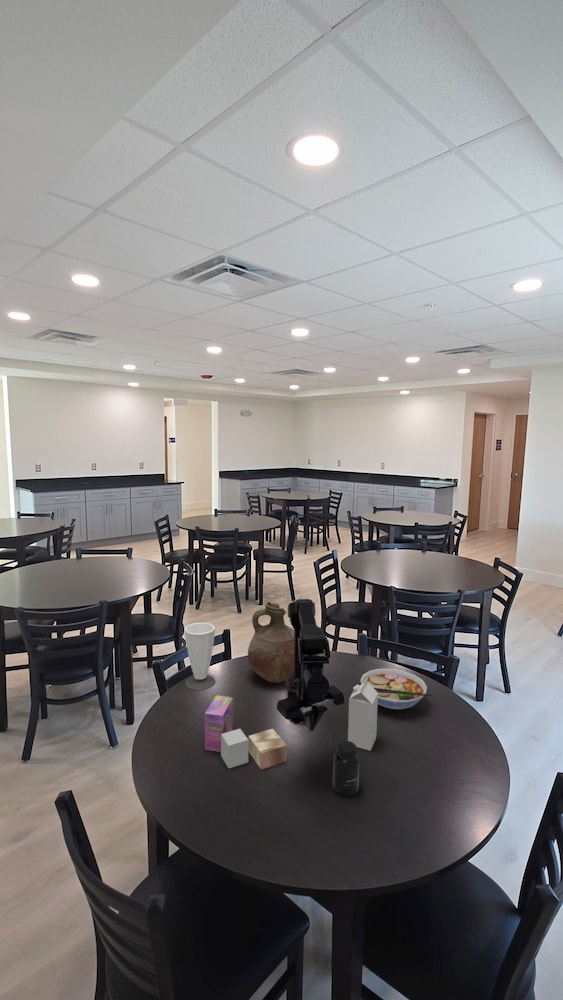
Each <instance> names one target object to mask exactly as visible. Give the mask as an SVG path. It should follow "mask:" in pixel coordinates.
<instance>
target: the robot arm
mask: <svg viewBox="0 0 563 1000" xmlns="http://www.w3.org/2000/svg"><path fill="white" fill-rule="evenodd" d="M315 616H316V603H315V602H313V600H312V599H310V598H299V599H296V600H295V601H293V602H290V603H289V604H287V618H289V622H290V625H291V626H292V627H291V628H292V629H294V672H293V673H292V675H291V676H290V678H288V679H286V681H284V682H285V683H284V684H285V698H282V699H279V700H278V701H277V703H276V711H278V713H280V714H281V716H282V717H283V718H284V719H285V720H290V721H291V722H292V723H293V724H294V725H298V724H301V723H306V726H307V729H308V731H309V732H314V730H315V728H316V727H317V725H318V723H319V721H320V720H321V718H322V717H323V715H324V714H325V712H328V707H326V705H325V703H326V702H329V701H332V703H333V705H335V706H339V705H343V704H345V702H346V700H345V699H346V698H345V694H344V692H343V691H341V690H340V689H339V688H338V687H336V686H335V685H331V686H330V682H329V680H328V677H327V675H326V671H325V668H324V664H325V665H329V664H330V659H331V650H330V649H331V648H330V641H329V639H328V637H327V636H326V635H325V633H324V630H323V628H322V627H320V626H318V625H317V622H316V617H315ZM323 654H324V655H323Z"/></svg>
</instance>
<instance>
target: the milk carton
mask: <svg viewBox="0 0 563 1000" xmlns="http://www.w3.org/2000/svg"><path fill="white" fill-rule="evenodd" d="M367 679H368V678H367ZM367 679H366V680H365V682H364V683H363V684H362V683H361V684H360V685H359V684H357V685H354V686H353V688H352V689H353V691H352V693H351V695H350V697H349V698H348V724H347V726H348V727H347V741H351V742H352V743H354V744H355V745H356V748H358V749H362V750H365V751H369V752H371V751H372V749H373V746H374V744H375V742H376V739H377V725H378V705H379V704H378V692H377V691H376V690H375V689H374V688H373V687H372V686H371V685H370V684H369V683H368V682H367Z"/></svg>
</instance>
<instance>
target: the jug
mask: <svg viewBox="0 0 563 1000" xmlns="http://www.w3.org/2000/svg"><path fill="white" fill-rule="evenodd" d="M264 606H265V608H263V609H261V608H260V609H258V610H256V611H255V612H254V613H253V615H252V618H251V619H252V620H251V623H252V627H253V629H254V634H253V636H252V638H251V640H250V642H249V645H248V648H247V659H248V663H249V665H250V666H251V668H252V669H253V671H254V672H255V673H256V674H257V675H258V676H260V677H261V678H262V679H264V680H266V681H267V682H269V683H276V684H280V683H283V682H285V681H286V679H288V678H290V676H291V675H292V673H293V672H294V628H293V627H291V626H288V625H286V623H285V618H284V616H285V615H286V613H287V611H286V610H285V608H283V607H280V604H279V603H276V602H271V601H267V602H266V603H265V605H264ZM262 616H263V617H264V616H269V617H270V621H269V623H267V624H265V625H261V624H260V623H259V619H260V617H262Z"/></svg>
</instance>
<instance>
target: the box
mask: <svg viewBox="0 0 563 1000" xmlns="http://www.w3.org/2000/svg"><path fill="white" fill-rule="evenodd" d="M233 710H234V698H233V697H232V696H225V695H215V696H214V698H213V700H212V701H211V702H210V704H209V707H208V708H207V710H206V711H205V712H204V750H205V751H209V752H215V751H216V753H221V734H223V733H226V732H230V731H233V730H234V729H233V719H234V718H233V717H234V716H233V713H234V711H233Z"/></svg>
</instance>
